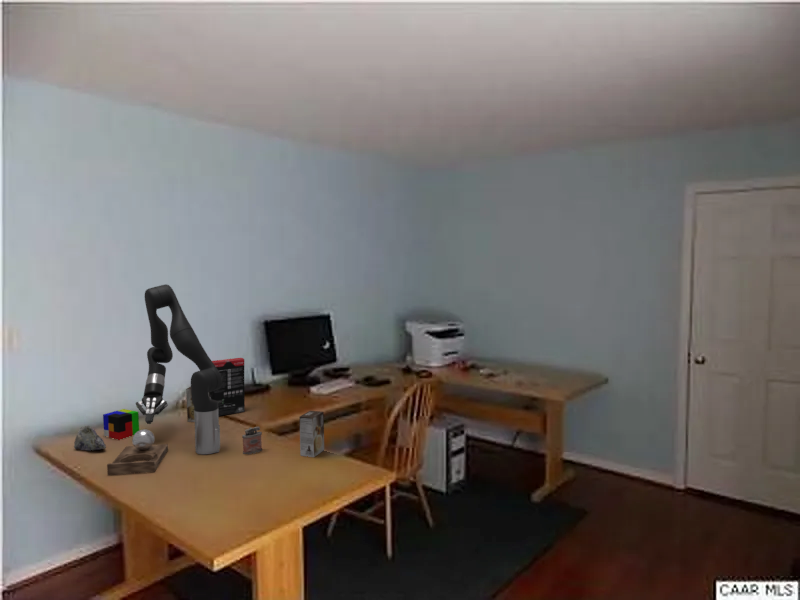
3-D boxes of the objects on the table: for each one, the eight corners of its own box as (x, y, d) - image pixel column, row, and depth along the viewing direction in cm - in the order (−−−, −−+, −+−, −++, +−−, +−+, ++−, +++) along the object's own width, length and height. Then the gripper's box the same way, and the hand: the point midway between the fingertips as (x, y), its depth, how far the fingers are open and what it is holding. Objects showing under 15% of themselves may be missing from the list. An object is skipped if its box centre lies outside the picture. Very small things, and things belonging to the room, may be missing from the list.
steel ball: (156, 445, 235) (156, 426, 234) (152, 452, 227) (151, 432, 226) (135, 446, 234) (134, 427, 233) (130, 453, 226) (129, 433, 225)
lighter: (244, 455, 230) (244, 430, 230) (241, 453, 233) (240, 428, 232) (263, 451, 236) (263, 426, 235) (259, 448, 238) (259, 424, 237)
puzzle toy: (104, 436, 254) (103, 414, 253) (124, 430, 263) (123, 408, 262) (119, 440, 249) (118, 417, 249) (139, 433, 258) (138, 411, 257)
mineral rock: (107, 452, 235) (105, 428, 234) (76, 457, 229) (75, 432, 228) (102, 443, 245) (101, 420, 244) (73, 448, 239) (72, 424, 238)
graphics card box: (240, 409, 297) (239, 356, 295) (246, 412, 292) (244, 358, 290) (207, 415, 286) (205, 360, 284) (213, 418, 281) (211, 362, 279)
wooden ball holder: (168, 450, 237) (167, 440, 237) (154, 472, 213) (154, 461, 213) (126, 452, 234) (125, 442, 234) (107, 475, 211) (107, 464, 210)
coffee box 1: (211, 418, 281) (210, 385, 279) (204, 422, 274) (203, 388, 273) (193, 417, 282) (192, 385, 281) (186, 421, 276) (185, 388, 274)
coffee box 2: (310, 448, 239) (310, 410, 237) (324, 450, 237) (324, 411, 235) (299, 455, 230) (299, 416, 229) (314, 457, 228) (313, 417, 226)
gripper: (136, 382, 246) (129, 419, 235) (169, 381, 249) (164, 417, 238) (140, 391, 252) (133, 428, 241) (172, 390, 254) (167, 426, 243)
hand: (148, 422), depth 239 cm, fingers closed
